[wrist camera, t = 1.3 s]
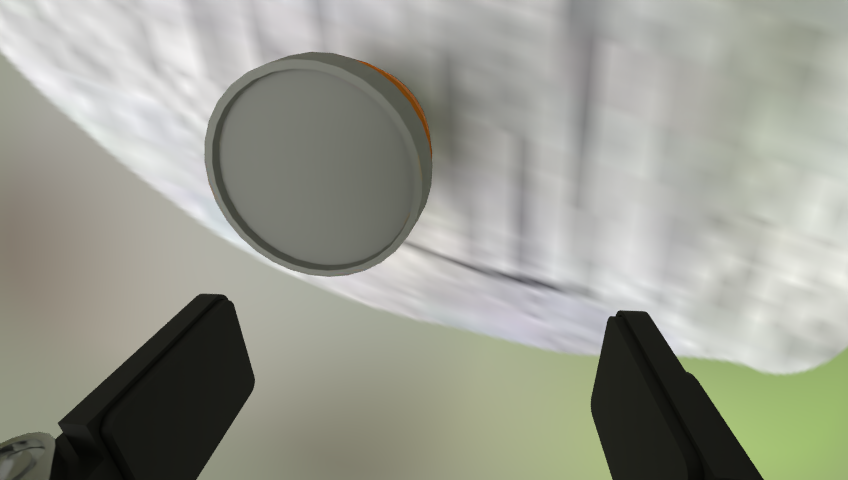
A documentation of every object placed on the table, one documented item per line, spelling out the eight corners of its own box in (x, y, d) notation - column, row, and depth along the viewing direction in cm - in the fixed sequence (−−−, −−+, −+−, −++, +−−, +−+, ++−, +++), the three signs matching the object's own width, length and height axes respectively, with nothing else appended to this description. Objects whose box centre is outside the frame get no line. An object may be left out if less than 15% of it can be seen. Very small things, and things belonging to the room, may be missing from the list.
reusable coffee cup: (399, 221, 39) (362, 314, 25) (281, 152, 37) (173, 212, 23) (472, 105, 33) (474, 143, 20) (339, 18, 32) (242, -5, 18)
